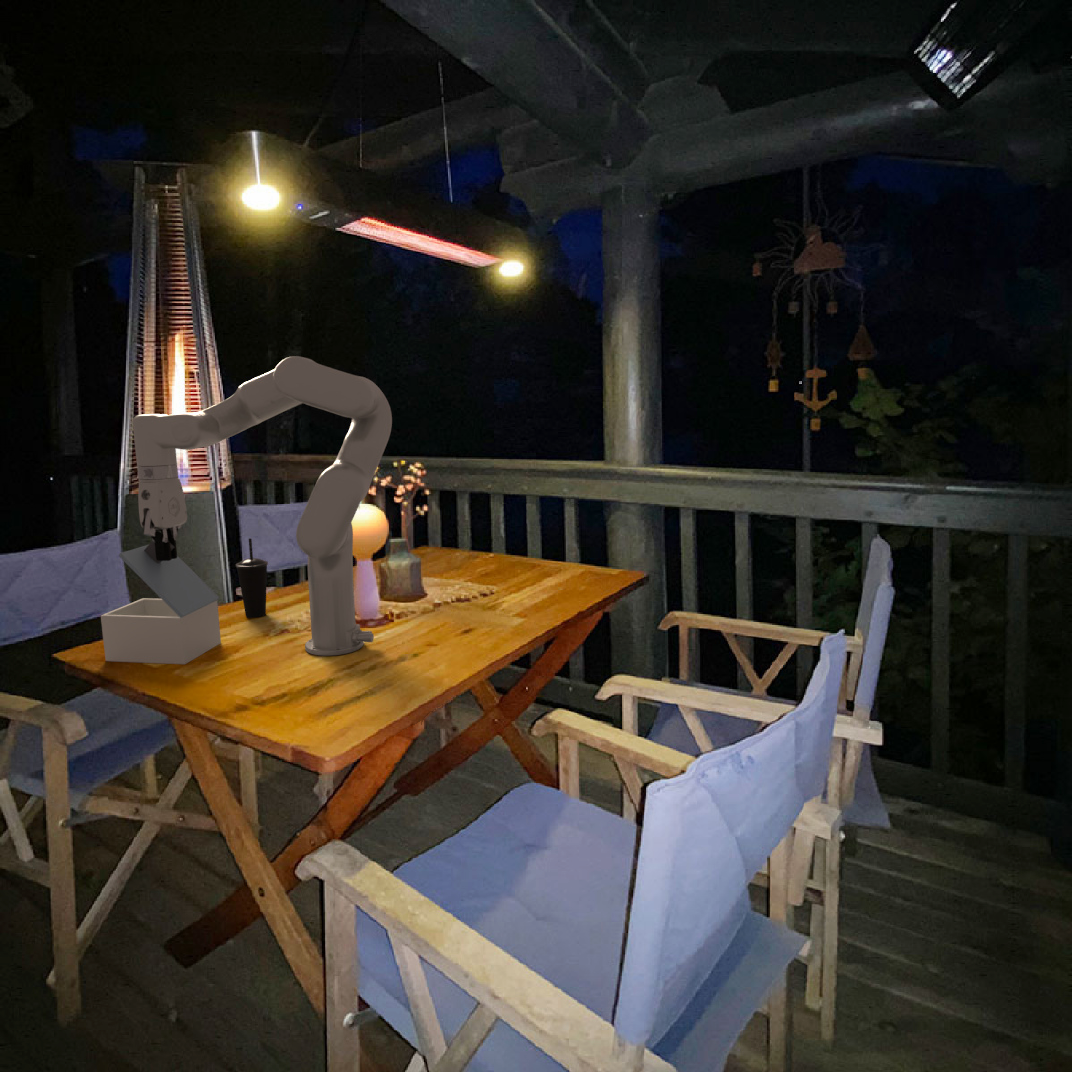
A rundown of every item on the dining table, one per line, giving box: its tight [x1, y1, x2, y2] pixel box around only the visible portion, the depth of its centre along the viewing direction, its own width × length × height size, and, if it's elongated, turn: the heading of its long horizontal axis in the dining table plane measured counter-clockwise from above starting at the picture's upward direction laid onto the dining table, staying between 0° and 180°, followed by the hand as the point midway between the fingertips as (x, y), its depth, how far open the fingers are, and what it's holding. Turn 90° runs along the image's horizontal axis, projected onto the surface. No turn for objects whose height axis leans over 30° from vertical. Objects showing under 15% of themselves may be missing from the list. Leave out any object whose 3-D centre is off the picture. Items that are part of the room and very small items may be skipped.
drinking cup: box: [235, 538, 269, 619], centre depth 190 cm, size 8×8×20 cm
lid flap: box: [118, 541, 220, 618], centre depth 161 cm, size 18×14×6 cm
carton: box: [100, 597, 222, 665], centre depth 164 cm, size 18×14×10 cm
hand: (166, 558), depth 160 cm, fingers closed
